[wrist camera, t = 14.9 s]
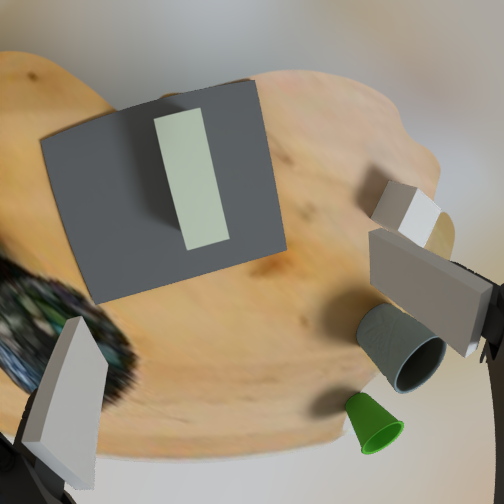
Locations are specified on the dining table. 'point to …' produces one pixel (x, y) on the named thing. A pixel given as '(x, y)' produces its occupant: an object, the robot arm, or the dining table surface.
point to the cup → (372, 423)
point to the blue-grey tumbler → (400, 347)
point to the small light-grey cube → (406, 212)
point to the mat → (162, 192)
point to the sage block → (191, 178)
